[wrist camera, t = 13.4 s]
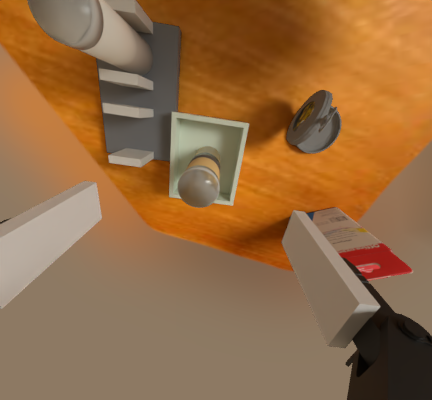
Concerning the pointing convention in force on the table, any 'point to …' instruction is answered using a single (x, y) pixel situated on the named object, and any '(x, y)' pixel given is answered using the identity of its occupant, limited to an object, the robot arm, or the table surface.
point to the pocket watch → (315, 124)
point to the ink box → (358, 245)
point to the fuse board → (141, 93)
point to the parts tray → (207, 136)
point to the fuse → (94, 32)
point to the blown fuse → (201, 178)
